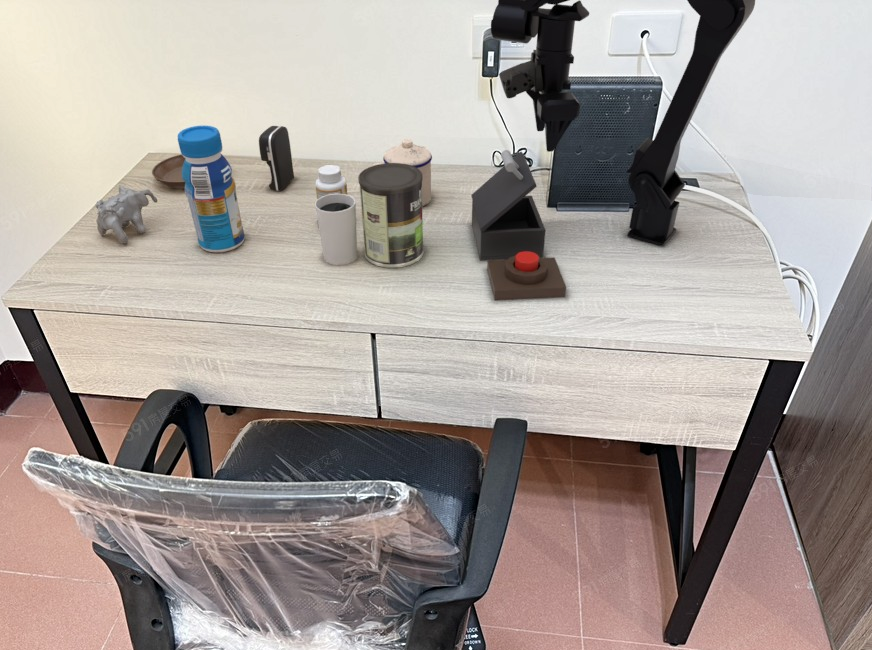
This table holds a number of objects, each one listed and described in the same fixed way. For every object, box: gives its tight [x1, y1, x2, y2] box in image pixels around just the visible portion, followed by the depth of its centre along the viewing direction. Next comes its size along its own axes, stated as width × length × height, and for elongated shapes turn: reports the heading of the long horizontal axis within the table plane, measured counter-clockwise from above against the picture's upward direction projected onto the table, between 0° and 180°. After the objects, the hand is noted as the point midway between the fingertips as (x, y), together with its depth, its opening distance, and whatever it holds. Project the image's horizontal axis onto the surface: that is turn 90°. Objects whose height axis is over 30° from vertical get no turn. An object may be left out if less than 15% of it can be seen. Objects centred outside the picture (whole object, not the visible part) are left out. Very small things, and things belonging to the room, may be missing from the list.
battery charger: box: [258, 125, 295, 192], centre depth 141 cm, size 7×4×11 cm, turn 162°
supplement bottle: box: [315, 164, 348, 200], centre depth 128 cm, size 6×6×10 cm
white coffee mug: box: [314, 194, 358, 266], centre depth 118 cm, size 7×7×10 cm
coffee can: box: [357, 162, 424, 269], centre depth 117 cm, size 10×10×14 cm
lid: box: [471, 149, 538, 232], centre depth 117 cm, size 11×13×4 cm
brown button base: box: [486, 255, 567, 301], centre depth 112 cm, size 11×9×4 cm
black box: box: [471, 195, 547, 262], centre depth 122 cm, size 11×13×5 cm
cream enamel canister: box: [371, 139, 433, 207], centre depth 134 cm, size 12×9×12 cm
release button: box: [515, 251, 539, 272], centre depth 111 cm, size 4×4×2 cm
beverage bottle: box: [177, 125, 246, 253], centre depth 120 cm, size 8×8×20 cm
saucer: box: [151, 153, 186, 190], centre depth 147 cm, size 15×15×3 cm
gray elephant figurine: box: [95, 185, 158, 244], centre depth 129 cm, size 9×12×8 cm
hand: (544, 140), depth 125 cm, fingers open, 9 cm apart
